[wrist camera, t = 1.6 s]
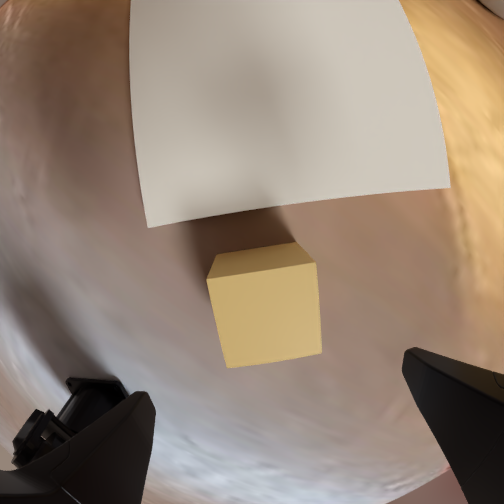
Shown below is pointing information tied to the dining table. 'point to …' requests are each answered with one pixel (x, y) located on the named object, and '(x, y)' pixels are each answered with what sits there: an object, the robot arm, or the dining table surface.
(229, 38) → the board
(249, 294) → the cube
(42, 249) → the dining table surface
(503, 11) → the chamber pot
